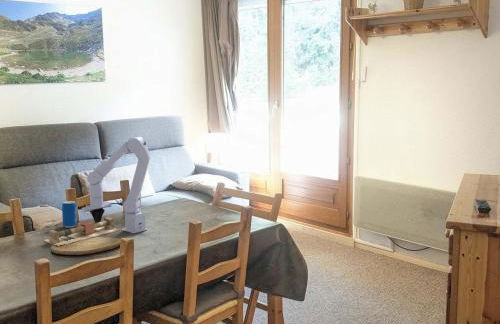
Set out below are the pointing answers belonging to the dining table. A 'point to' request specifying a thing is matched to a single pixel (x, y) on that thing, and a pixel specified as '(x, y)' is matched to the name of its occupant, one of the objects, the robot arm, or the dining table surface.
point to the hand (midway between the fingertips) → (97, 224)
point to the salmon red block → (87, 227)
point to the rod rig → (75, 233)
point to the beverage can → (69, 214)
